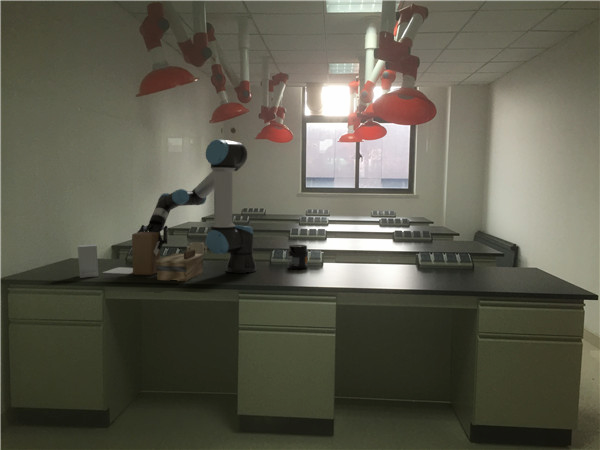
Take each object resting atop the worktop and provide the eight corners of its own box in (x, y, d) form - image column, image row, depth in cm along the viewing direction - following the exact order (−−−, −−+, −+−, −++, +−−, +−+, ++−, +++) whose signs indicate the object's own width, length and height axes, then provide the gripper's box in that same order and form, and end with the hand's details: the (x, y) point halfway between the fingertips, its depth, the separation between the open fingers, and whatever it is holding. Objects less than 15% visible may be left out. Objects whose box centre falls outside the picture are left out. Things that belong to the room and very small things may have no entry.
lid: (203, 256, 226) (203, 248, 226) (186, 263, 206) (186, 254, 206) (175, 255, 229) (175, 247, 228) (155, 262, 208) (155, 253, 208)
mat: (143, 269, 235) (143, 268, 235) (129, 274, 221) (129, 273, 221) (118, 268, 237) (118, 267, 237) (102, 273, 223) (102, 272, 223)
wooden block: (160, 271, 229) (159, 231, 227) (152, 275, 219) (151, 234, 217) (141, 271, 230) (140, 231, 228) (132, 275, 220) (131, 233, 218)
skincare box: (98, 274, 220) (97, 243, 219) (98, 276, 215) (97, 245, 214) (78, 275, 217) (77, 244, 215) (78, 278, 211) (77, 246, 210)
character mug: (209, 266, 244) (209, 242, 243) (205, 269, 237) (205, 244, 236) (189, 266, 245) (188, 242, 244) (184, 268, 238) (184, 243, 237)
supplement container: (309, 266, 246) (309, 244, 245) (305, 270, 236) (305, 247, 235) (290, 265, 249) (290, 244, 248) (285, 269, 239) (285, 246, 238)
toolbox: (202, 272, 227) (202, 256, 226) (186, 281, 207) (186, 263, 206) (175, 271, 229) (175, 255, 229) (156, 280, 209) (156, 262, 208)
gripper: (182, 224, 236) (169, 258, 222) (140, 223, 240) (125, 257, 226) (177, 214, 231) (164, 249, 217) (135, 213, 234) (119, 248, 220)
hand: (144, 253), depth 221 cm, fingers closed on wooden block, 10 cm apart
